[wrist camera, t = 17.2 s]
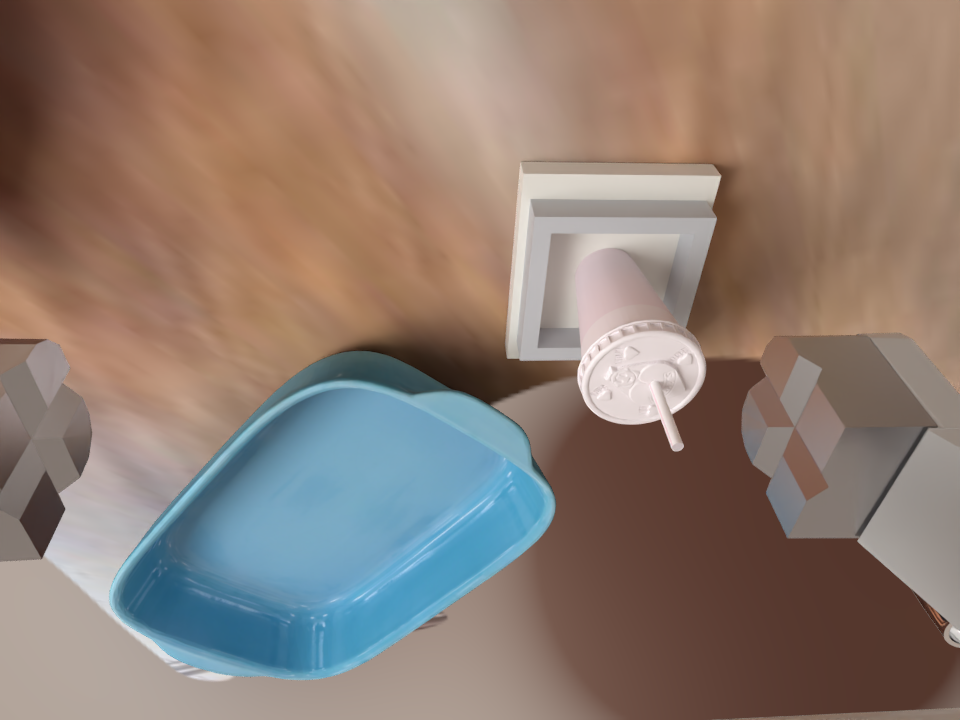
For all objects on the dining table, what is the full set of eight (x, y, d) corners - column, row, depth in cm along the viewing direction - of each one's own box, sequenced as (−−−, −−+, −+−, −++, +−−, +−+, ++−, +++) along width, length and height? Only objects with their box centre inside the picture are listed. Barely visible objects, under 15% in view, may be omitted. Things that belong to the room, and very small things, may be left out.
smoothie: (629, 326, 46) (693, 499, 36) (536, 304, 45) (574, 478, 34) (677, 242, 42) (764, 408, 32) (577, 215, 41) (634, 380, 30)
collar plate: (712, 164, 41) (739, 201, 38) (665, 343, 49) (683, 387, 46) (520, 161, 40) (530, 200, 37) (505, 344, 48) (511, 389, 45)
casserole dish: (353, 257, 44) (344, 329, 38) (599, 419, 54) (620, 494, 49) (93, 551, 60) (61, 630, 55) (321, 631, 71) (313, 705, 65)
